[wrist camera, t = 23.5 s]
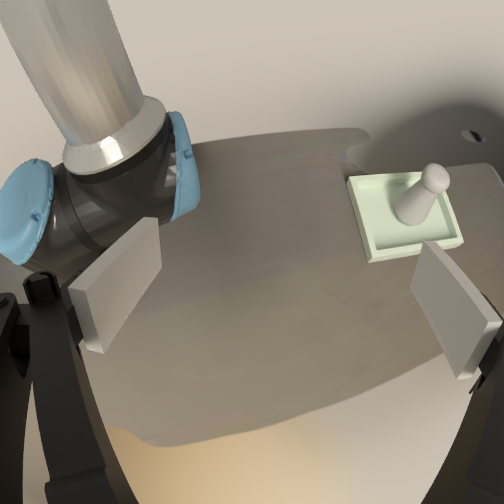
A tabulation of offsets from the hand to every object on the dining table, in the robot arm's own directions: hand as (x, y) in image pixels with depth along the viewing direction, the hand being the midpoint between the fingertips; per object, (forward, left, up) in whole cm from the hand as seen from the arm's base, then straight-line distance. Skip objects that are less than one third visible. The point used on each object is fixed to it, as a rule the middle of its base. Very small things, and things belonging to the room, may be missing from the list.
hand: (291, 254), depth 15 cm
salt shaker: (+10, +26, -30) cm, 41 cm away
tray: (+10, +26, -31) cm, 42 cm away
